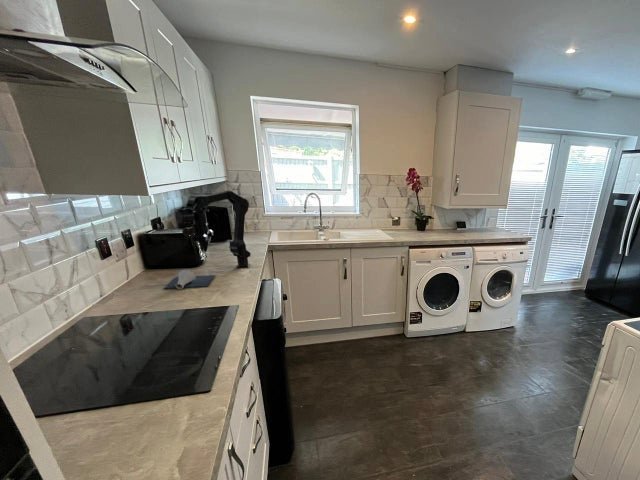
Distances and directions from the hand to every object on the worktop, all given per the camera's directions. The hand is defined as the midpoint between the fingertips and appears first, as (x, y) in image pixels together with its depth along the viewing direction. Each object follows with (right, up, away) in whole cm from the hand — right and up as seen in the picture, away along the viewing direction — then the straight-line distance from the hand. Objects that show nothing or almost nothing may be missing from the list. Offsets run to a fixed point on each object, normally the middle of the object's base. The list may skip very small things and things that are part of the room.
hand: (205, 251), depth 170 cm
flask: (-3, -13, -10) cm, 17 cm away
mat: (-3, -17, -8) cm, 19 cm away
